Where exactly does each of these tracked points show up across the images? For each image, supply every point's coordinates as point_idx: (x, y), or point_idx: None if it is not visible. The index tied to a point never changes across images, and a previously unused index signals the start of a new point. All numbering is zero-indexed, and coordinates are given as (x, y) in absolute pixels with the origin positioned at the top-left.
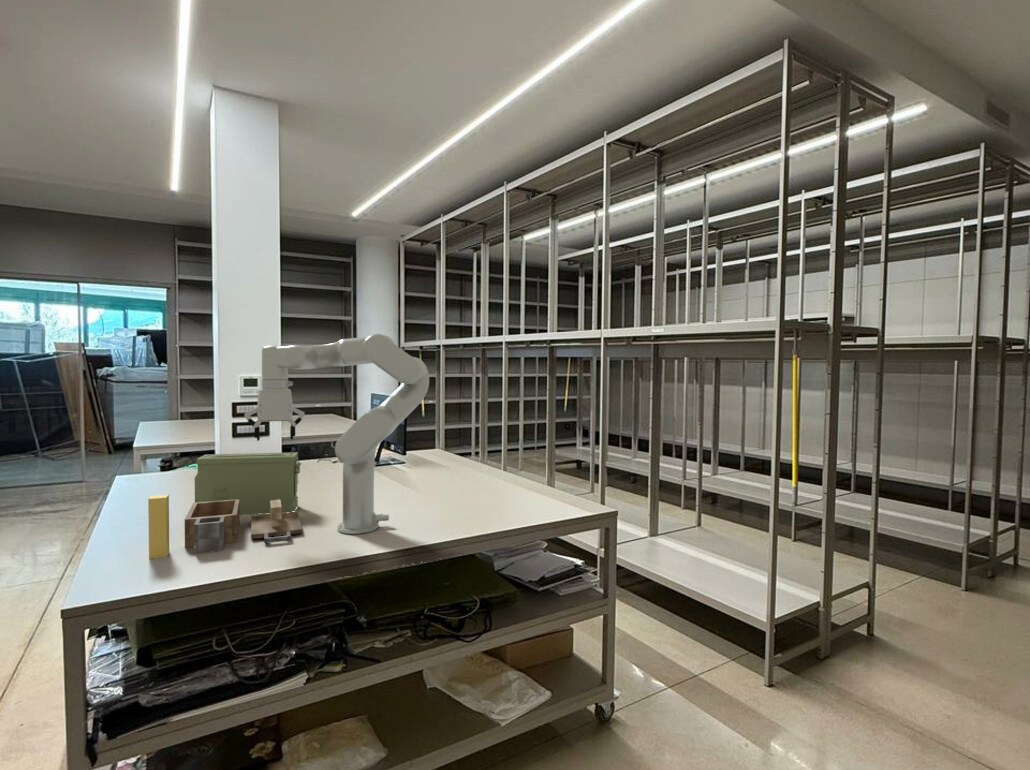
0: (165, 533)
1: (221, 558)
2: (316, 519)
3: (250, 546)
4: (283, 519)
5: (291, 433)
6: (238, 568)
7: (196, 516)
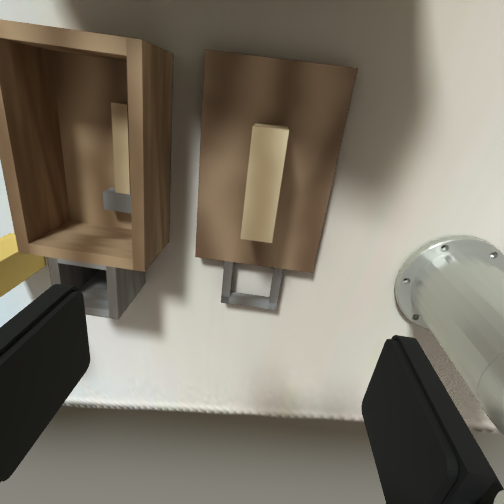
0: (7, 290)
1: (145, 323)
2: (396, 134)
3: (196, 284)
4: (291, 153)
5: (381, 466)
6: (175, 378)
7: (28, 71)
